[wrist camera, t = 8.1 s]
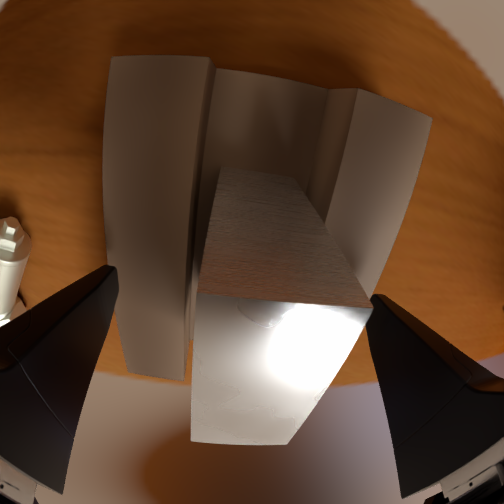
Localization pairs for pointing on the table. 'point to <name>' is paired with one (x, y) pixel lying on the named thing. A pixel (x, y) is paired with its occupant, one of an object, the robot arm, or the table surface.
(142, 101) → the grey u-channel
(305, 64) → the table surface
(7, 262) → the pipe fitting
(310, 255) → the brushed metal bar
